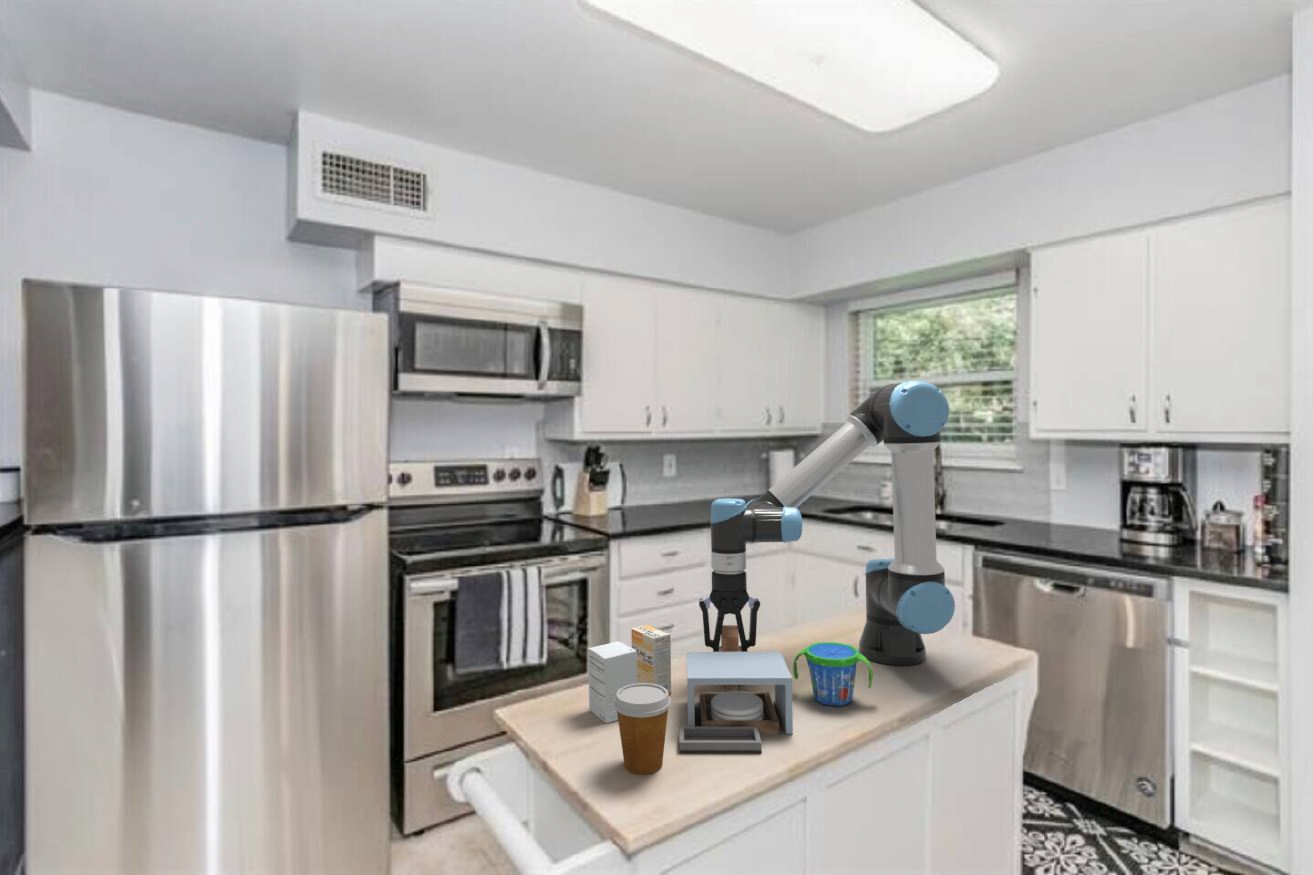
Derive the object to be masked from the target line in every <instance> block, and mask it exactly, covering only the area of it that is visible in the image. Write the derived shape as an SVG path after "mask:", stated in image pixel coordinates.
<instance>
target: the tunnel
mask: <svg viewBox="0 0 1313 875" xmlns="http://www.w3.org/2000/svg"><path fill="white" fill-rule="evenodd" d="M705 685H706V686H709V685H710V686H713V685H715V686H723V685H739V686H740V685H741V686H746V685H748V686H749V685H752V686H753V685H755V686H759V685H764V686H765V685H766V686H767V685H768V686H770V685H771V686H773V685H774V702H775V705H776V708H777V711H778V714H779V716H780V717H779V718H780V719H781V723H782V726H783V729H784V732H785V734H786V735H793V734H794V729H793V728H794V726H793V725H794V723H793V721H794V720H793V717H794V716H793V713H794V712H793V677H792V674H791V673H790V670H789V668H788V666H787V663H786V661H785V659H784V657H783V654H782V652H781V651H747V652H713V651H686V689H687V690H686V691H687V694H686V696H687V698H686V699H687V700H686V701H687V702H686V703H687V727H696V724H695V722H696V721H695V720H696V719H695V713H696V712H695V686H705Z"/></svg>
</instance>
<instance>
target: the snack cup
mask: <svg viewBox="0 0 1313 875" xmlns="http://www.w3.org/2000/svg"><path fill="white" fill-rule="evenodd" d="M802 655H803V656H805V659H806V662H807V666H808V667H809V668H808V669H809V676H810V680H811V687H812V693H813V696H814V699H816V701H817V702H819V703H820V704H822V705H827V706H839V707H842V706H845V705H847V704H849V703H850V702H853V697H854V688H855V682H856V674H857V664H858V662H861V663H863V664H865V665H866V667H867V670H868V689H869V690H870V689H871V688H872V685H873V679H874V672H873V668H872V667H873V666H872V665H871V663H870V660H869V659H867V658H866V657H865V656H863V655H862V654H860V653H859V649H857V647H854V646H852V645H850V644H846V643H842V642H835V641H834V642H833V641H823V642H816V643H811V644H809V645H808V646H807V647H805V648H803V649H801V650H800V651H799V652H798V653H797V654H796V656H795V658H794V660H793V666H792V668H793V669H792V673H793V678H794V679H795V680H798V678H799V671H798V664H797V661H798V660H799V658H800V657H801V656H802Z"/></svg>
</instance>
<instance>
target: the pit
mask: <svg viewBox="0 0 1313 875" xmlns="http://www.w3.org/2000/svg"><path fill="white" fill-rule="evenodd" d="M678 736H679V753H680V754H762V752H763V751H762V749H763V748H762V740H761V734H759V731H758V727H701V726H695V727H688V726H679V735H678Z"/></svg>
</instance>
